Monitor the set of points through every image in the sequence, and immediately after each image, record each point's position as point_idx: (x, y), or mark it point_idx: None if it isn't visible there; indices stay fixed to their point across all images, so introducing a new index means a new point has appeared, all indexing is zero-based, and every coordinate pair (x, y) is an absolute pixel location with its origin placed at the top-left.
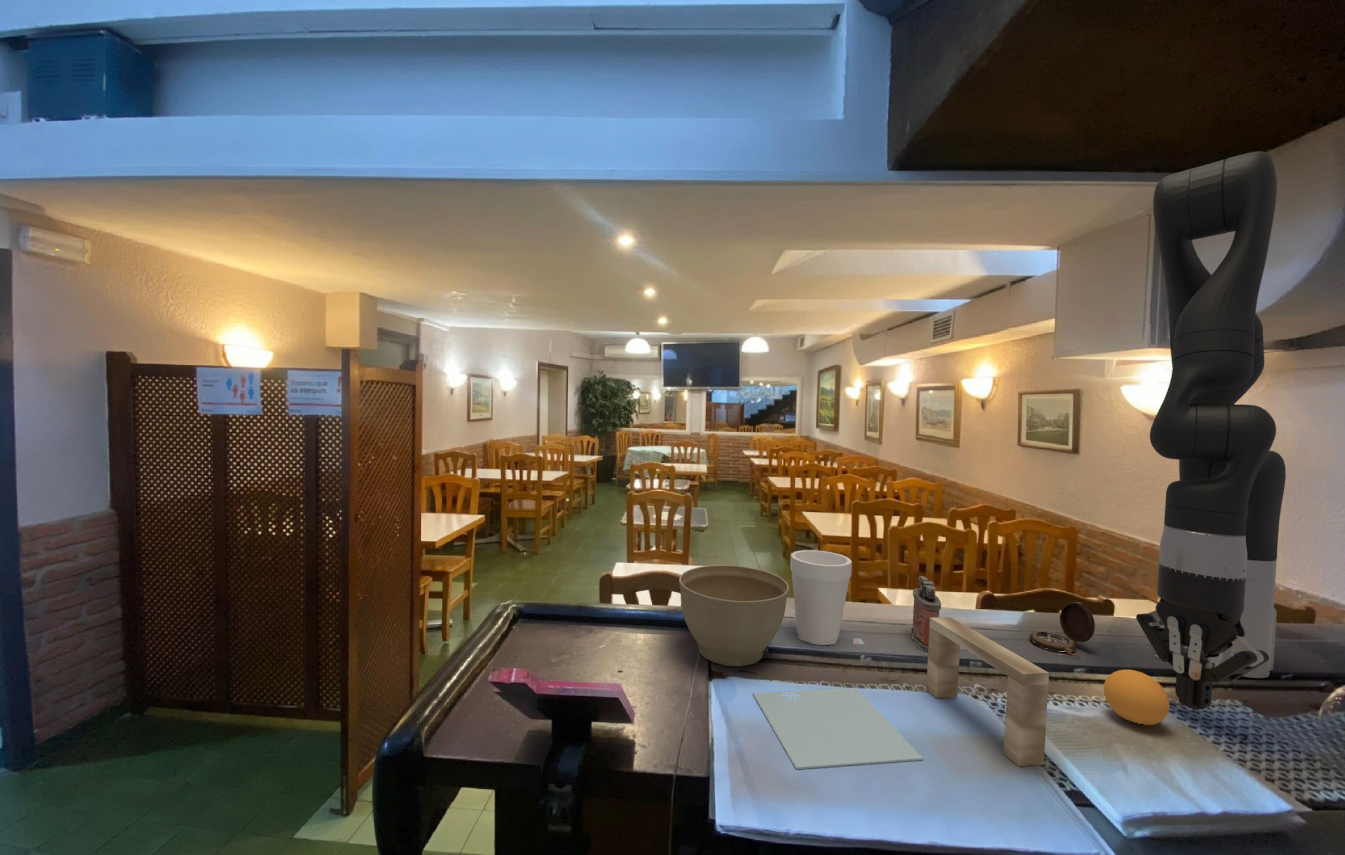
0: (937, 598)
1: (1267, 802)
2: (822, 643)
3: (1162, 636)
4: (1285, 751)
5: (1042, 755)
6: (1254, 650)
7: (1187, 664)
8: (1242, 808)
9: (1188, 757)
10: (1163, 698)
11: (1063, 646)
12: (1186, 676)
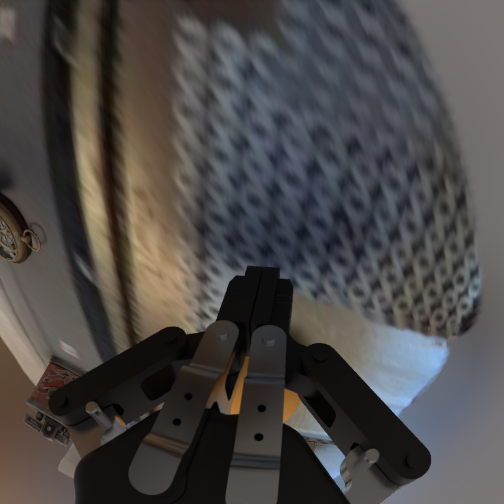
0: (53, 418)
1: (434, 363)
2: (125, 429)
3: (138, 402)
4: (406, 201)
5: (313, 449)
6: (397, 487)
7: (230, 369)
8: (422, 386)
9: (353, 364)
10: (296, 404)
11: (20, 242)
12: (248, 354)
